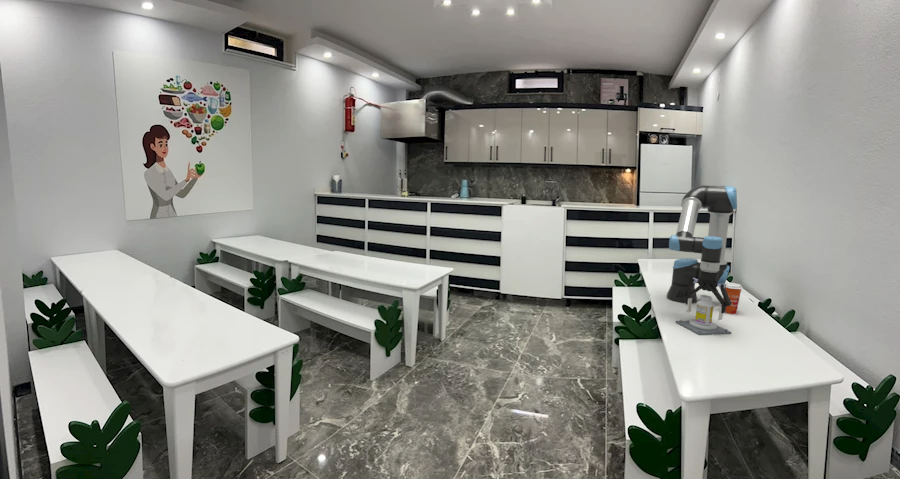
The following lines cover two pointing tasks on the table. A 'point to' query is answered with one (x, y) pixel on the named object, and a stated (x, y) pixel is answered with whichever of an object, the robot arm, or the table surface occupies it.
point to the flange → (703, 328)
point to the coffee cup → (733, 297)
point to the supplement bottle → (704, 310)
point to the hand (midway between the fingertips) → (704, 315)
